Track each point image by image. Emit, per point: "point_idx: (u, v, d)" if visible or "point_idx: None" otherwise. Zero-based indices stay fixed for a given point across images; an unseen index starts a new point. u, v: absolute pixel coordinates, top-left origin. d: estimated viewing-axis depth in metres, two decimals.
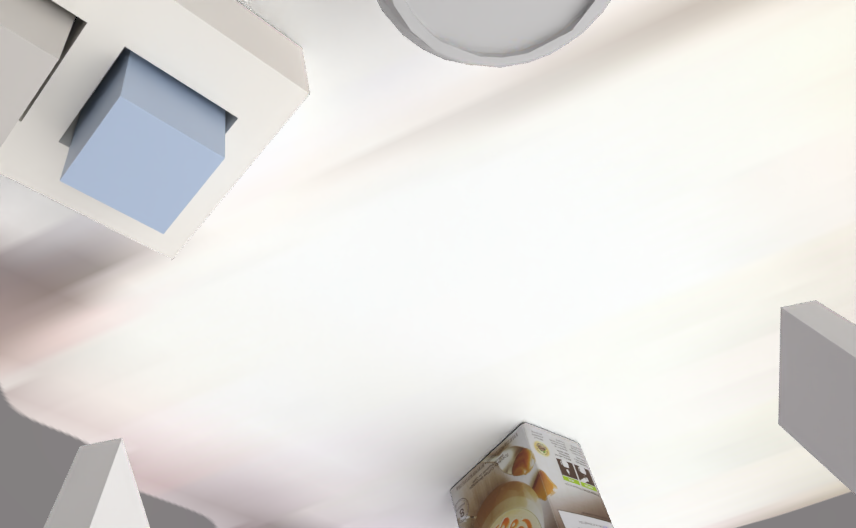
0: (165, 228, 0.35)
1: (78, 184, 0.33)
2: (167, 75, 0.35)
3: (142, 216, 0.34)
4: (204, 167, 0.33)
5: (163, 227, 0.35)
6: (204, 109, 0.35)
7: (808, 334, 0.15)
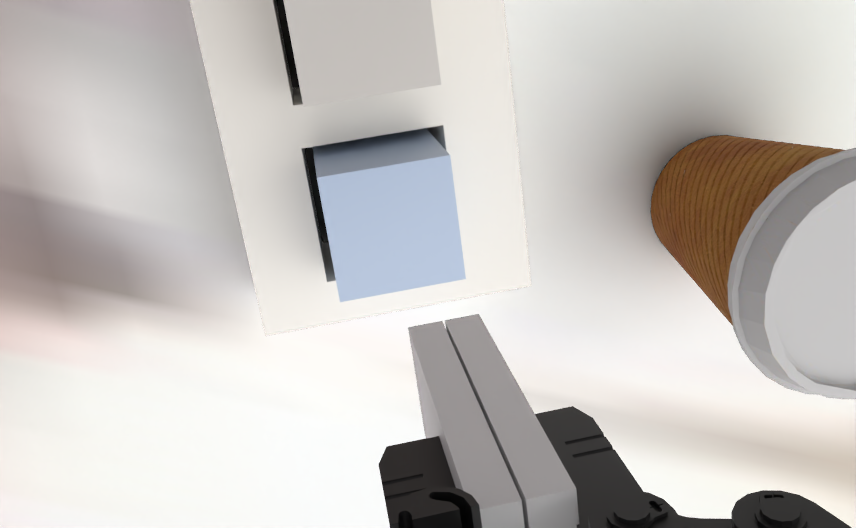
0: (348, 298, 0.29)
1: (328, 195, 0.28)
2: None
3: (342, 270, 0.29)
4: (441, 272, 0.29)
5: (347, 296, 0.29)
6: None
7: (454, 346, 0.17)
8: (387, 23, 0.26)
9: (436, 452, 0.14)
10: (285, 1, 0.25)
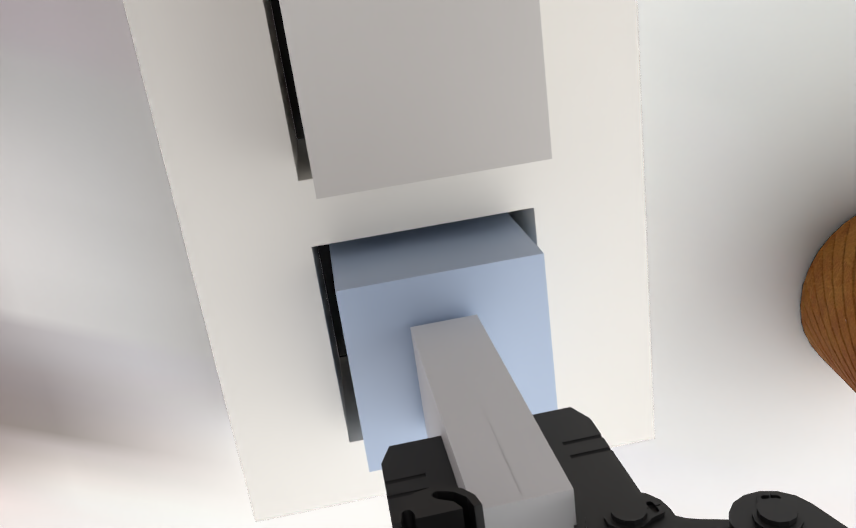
0: (381, 466, 0.19)
1: (353, 317, 0.18)
2: None
3: (374, 426, 0.19)
4: None
5: (380, 462, 0.19)
6: None
7: (452, 346, 0.17)
8: (464, 55, 0.15)
9: (438, 452, 0.14)
10: (285, 18, 0.14)
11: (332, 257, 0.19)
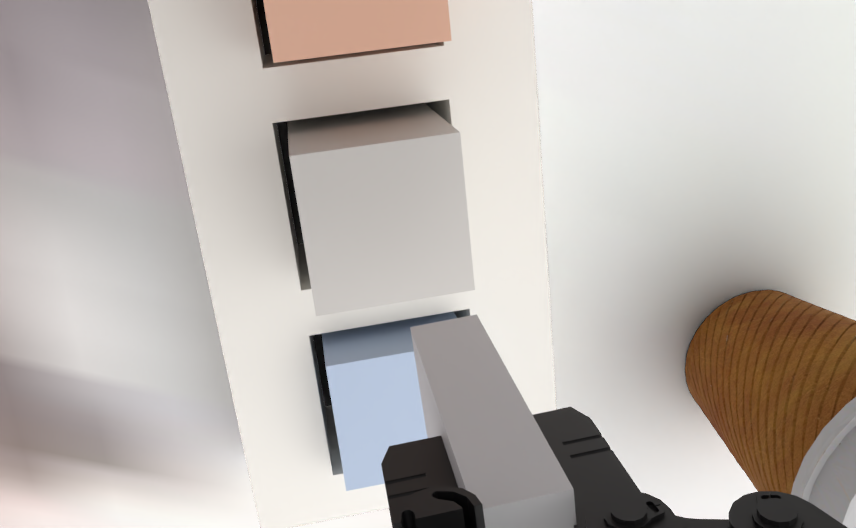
0: (355, 487, 0.27)
1: (337, 383, 0.26)
2: None
3: (350, 459, 0.26)
4: None
5: (354, 484, 0.27)
6: None
7: (452, 346, 0.17)
8: (415, 225, 0.23)
9: (438, 452, 0.14)
10: (299, 203, 0.22)
11: (323, 337, 0.27)
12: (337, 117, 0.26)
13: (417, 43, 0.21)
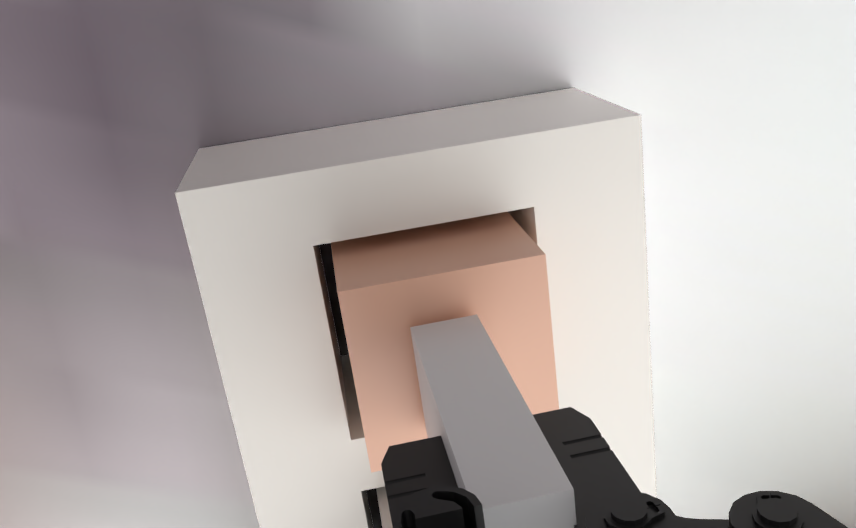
0: None
1: None
2: None
3: None
4: None
5: None
6: None
7: (452, 346, 0.17)
8: None
9: (439, 451, 0.14)
10: None
11: None
12: None
13: None
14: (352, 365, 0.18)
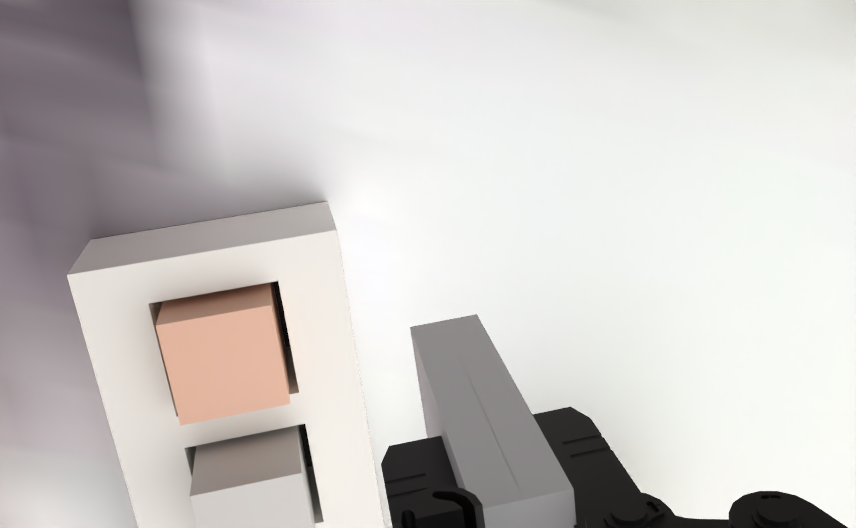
0: None
1: None
2: None
3: None
4: None
5: None
6: None
7: (452, 346, 0.17)
8: None
9: (439, 451, 0.14)
10: (197, 522, 0.34)
11: None
12: None
13: (268, 407, 0.35)
14: (166, 365, 0.33)
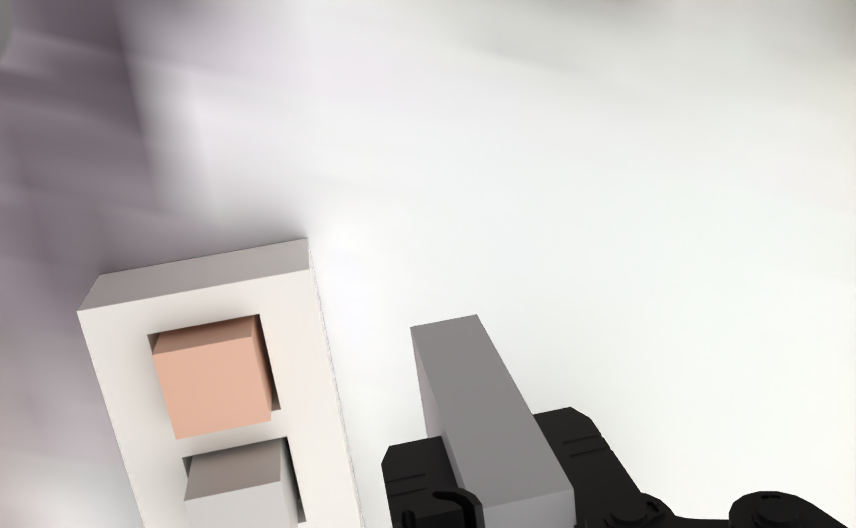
0: None
1: None
2: None
3: None
4: None
5: None
6: None
7: (452, 346, 0.17)
8: None
9: (438, 452, 0.14)
10: (191, 523, 0.39)
11: None
12: None
13: (252, 423, 0.40)
14: (162, 388, 0.38)
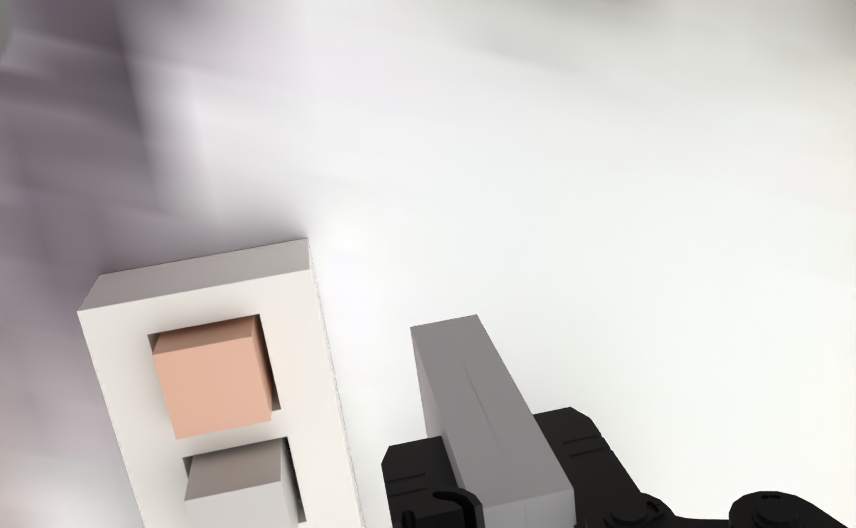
0: None
1: None
2: None
3: None
4: None
5: None
6: None
7: (452, 346, 0.17)
8: None
9: (439, 452, 0.14)
10: (191, 523, 0.39)
11: None
12: None
13: (252, 423, 0.40)
14: (162, 388, 0.38)
